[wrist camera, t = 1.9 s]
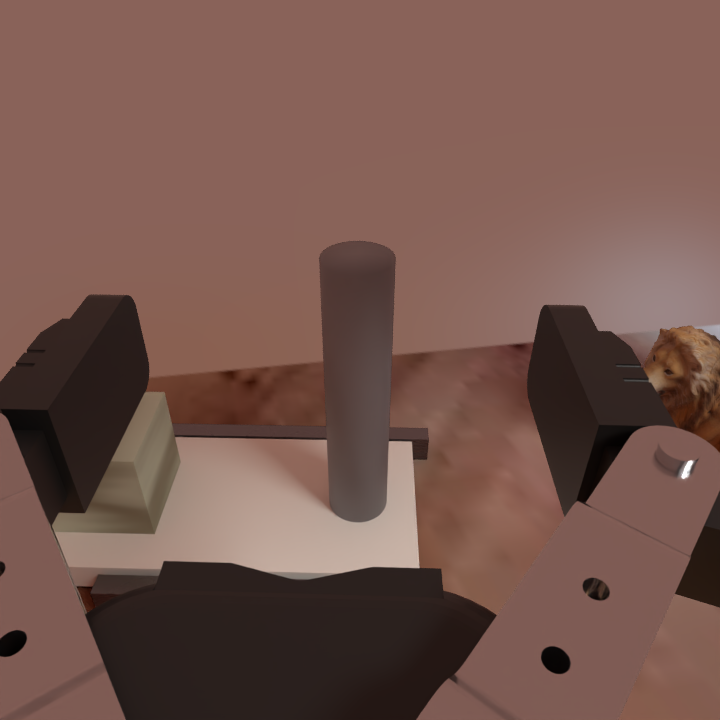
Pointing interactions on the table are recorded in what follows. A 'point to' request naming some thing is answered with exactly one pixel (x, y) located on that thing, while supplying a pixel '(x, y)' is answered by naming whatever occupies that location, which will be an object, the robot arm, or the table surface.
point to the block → (133, 477)
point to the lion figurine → (688, 379)
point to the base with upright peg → (294, 464)
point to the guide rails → (120, 584)
